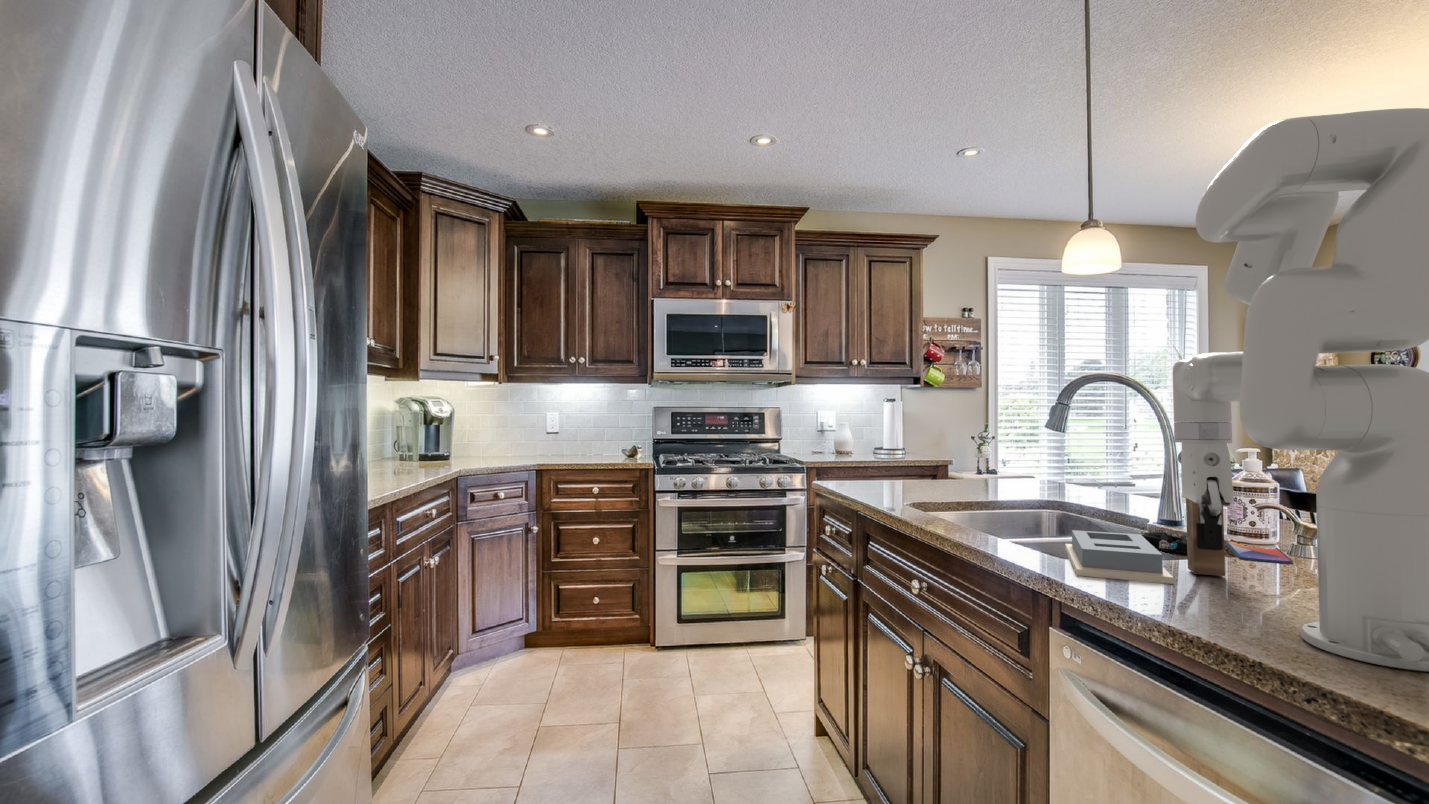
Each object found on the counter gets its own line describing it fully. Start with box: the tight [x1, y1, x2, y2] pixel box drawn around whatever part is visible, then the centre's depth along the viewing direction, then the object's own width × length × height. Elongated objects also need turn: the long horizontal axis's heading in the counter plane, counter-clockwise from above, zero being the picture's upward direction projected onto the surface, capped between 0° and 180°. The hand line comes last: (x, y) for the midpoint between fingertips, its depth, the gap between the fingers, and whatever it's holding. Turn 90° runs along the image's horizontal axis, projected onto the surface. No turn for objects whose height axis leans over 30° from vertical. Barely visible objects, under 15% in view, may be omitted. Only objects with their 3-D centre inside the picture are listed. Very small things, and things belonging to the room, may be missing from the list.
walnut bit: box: [1185, 497, 1226, 577], centre depth 103 cm, size 4×4×12 cm
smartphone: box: [1225, 540, 1293, 565], centre depth 118 cm, size 7×15×1 cm, turn 149°
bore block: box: [1064, 529, 1175, 585], centre depth 110 cm, size 22×13×4 cm, turn 155°
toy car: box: [1141, 531, 1187, 554], centre depth 120 cm, size 8×12×4 cm
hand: (1205, 545), depth 103 cm, fingers closed on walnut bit, 4 cm apart
